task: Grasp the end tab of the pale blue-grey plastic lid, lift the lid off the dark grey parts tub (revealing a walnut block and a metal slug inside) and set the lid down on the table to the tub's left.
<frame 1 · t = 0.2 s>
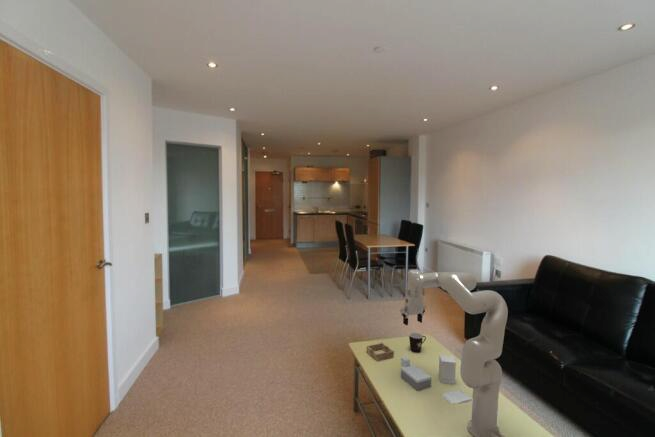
hand: (412, 323, 171), 30 cm above the table, fingers open, 9 cm apart
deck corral: (379, 354, 196), on the table
coffee mug: (417, 350, 202), on the table
walnut block: (419, 385, 163), point 1 cm above the table, touching tub
lid: (415, 374, 165), point 5 cm above the table, touching tub
metal slug: (409, 378, 168), point 1 cm above the table, touching tub
tub: (415, 383, 166), on the table
supplement box: (446, 381, 168), on the table
hard drive: (455, 399, 154), on the table
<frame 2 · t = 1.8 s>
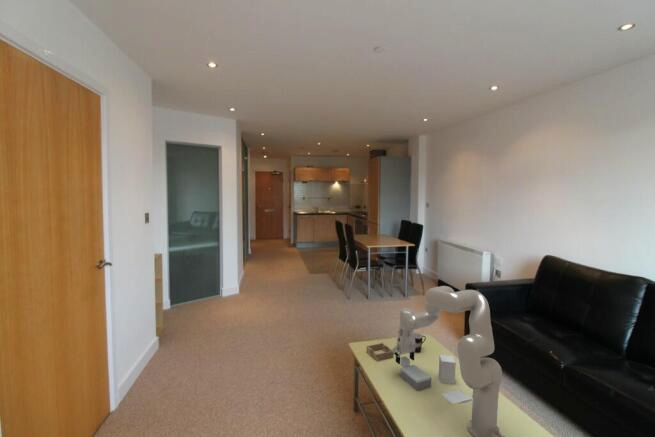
hand: (404, 361, 174), 8 cm above the table, fingers open, 9 cm apart
nothing on the table moved.
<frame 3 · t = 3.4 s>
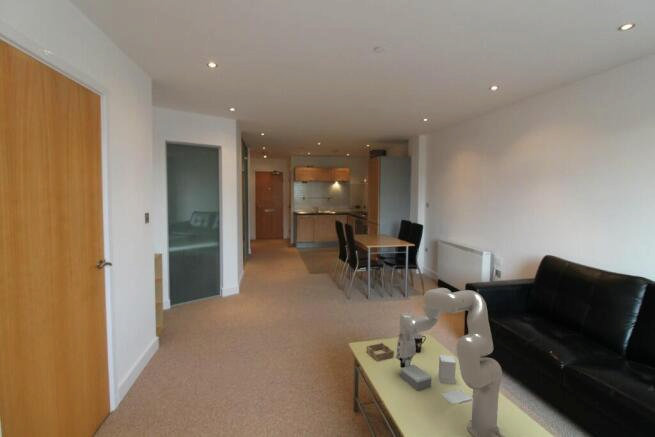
hand: (405, 367, 173), 4 cm above the table, fingers closed on lid, 3 cm apart
lid: (415, 374, 165), point 5 cm above the table, touching gripper
everything else where it was.
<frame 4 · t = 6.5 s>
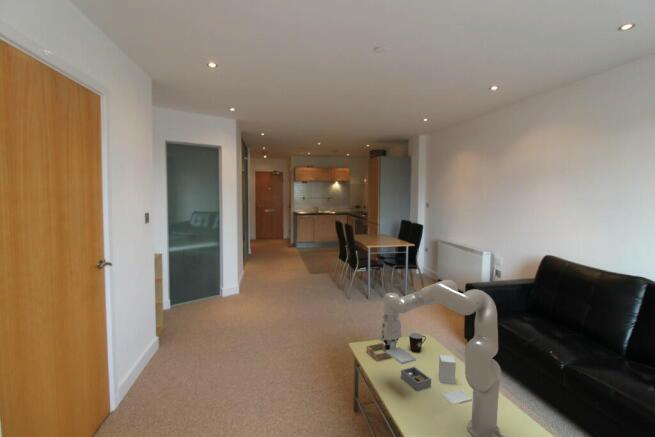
hand: (390, 350, 166), 17 cm above the table, fingers closed on lid, 3 cm apart
lid: (400, 356, 158), point 18 cm above the table, touching gripper
everything else where it was.
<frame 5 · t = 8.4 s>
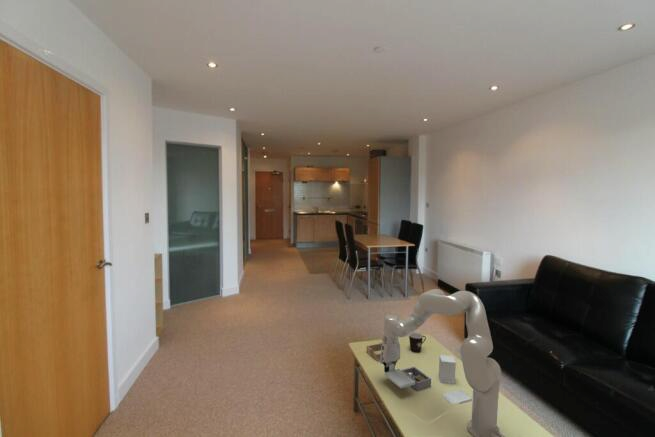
hand: (389, 372, 167), 5 cm above the table, fingers closed on lid, 3 cm apart
lid: (399, 379, 159), point 6 cm above the table, touching gripper
everything else where it was.
when the fingers open (1 cm above the table, at t = 10.0 s): lid drops 2 cm, on the table.
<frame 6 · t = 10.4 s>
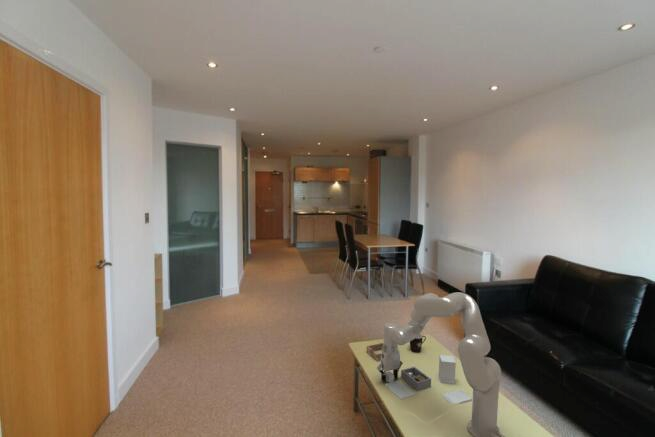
hand: (389, 379, 167), 2 cm above the table, fingers open, 7 cm apart
lid: (399, 391, 159), on the table
everything else where it was.
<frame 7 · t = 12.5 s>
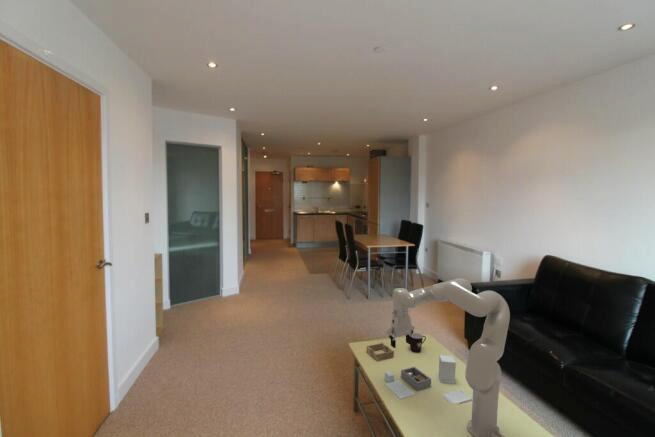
hand: (400, 345, 162), 22 cm above the table, fingers open, 9 cm apart
nothing on the table moved.
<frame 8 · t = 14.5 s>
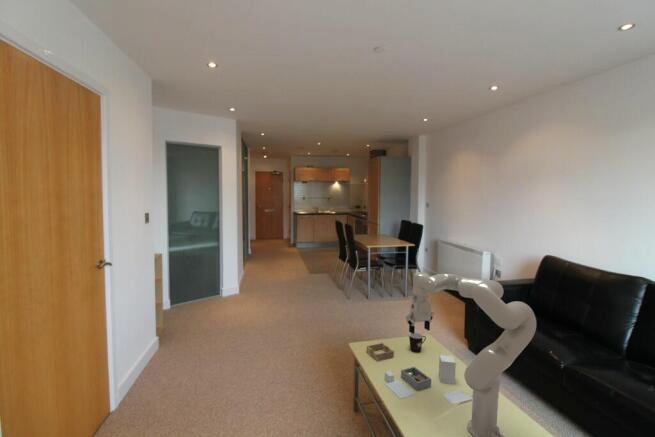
hand: (419, 331, 155), 32 cm above the table, fingers open, 9 cm apart
nothing on the table moved.
at the end: lid inside the target area (0.7 cm from its centre), on the table; lid touching table; lid tilted 0° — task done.
